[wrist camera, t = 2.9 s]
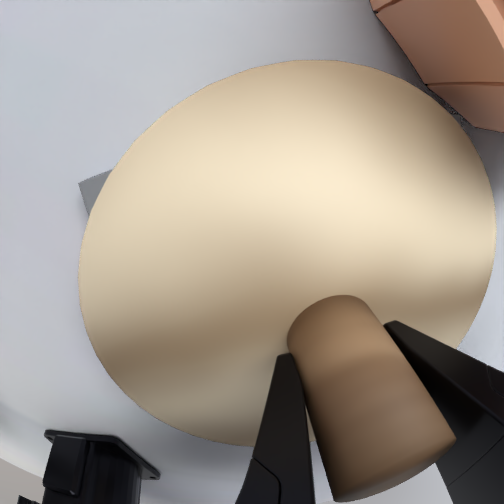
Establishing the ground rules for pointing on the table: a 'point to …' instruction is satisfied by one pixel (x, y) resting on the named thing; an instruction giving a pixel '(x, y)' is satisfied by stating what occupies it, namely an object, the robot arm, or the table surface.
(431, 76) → the bowl
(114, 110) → the table surface
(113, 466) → the robot arm
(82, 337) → the table surface
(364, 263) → the lid
